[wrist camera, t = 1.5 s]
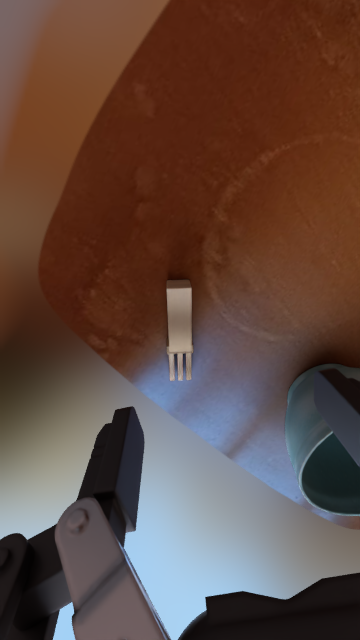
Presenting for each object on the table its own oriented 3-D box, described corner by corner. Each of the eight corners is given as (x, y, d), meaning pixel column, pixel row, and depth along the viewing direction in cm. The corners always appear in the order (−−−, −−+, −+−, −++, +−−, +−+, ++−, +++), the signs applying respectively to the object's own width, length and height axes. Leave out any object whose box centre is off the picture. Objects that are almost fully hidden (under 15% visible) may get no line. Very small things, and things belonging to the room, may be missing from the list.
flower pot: (323, 448, 38) (378, 532, 28) (237, 411, 34) (266, 493, 24) (406, 371, 33) (511, 440, 23) (316, 317, 29) (394, 373, 19)
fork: (163, 280, 26) (163, 288, 23) (191, 279, 26) (194, 287, 23) (168, 373, 31) (168, 389, 28) (191, 372, 31) (194, 388, 28)
